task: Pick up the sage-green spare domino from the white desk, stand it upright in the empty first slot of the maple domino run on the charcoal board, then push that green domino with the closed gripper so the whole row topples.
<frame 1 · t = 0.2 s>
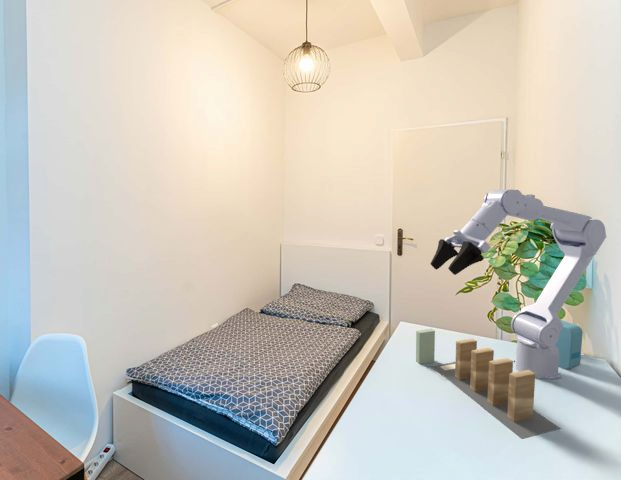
hand: (442, 269, 77), 31 cm above the table, tool tilted 45°, fingers open, 7 cm apart
light blue rounded block: (551, 360, 94), on the table
green domino: (425, 363, 94), on the table
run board: (485, 395, 78), on the table
domino 3: (481, 388, 80), point 1 cm above the table, touching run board
domino 5: (519, 417, 69), point 1 cm above the table, touching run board
domino 4: (499, 402, 74), point 1 cm above the table, touching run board
domino 2: (465, 377, 85), point 1 cm above the table, touching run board
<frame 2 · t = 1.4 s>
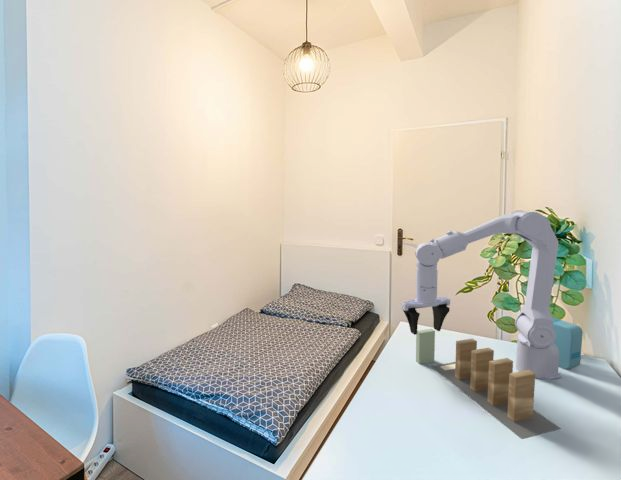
hand: (425, 331, 93), 10 cm above the table, tool pointing down, fingers open, 7 cm apart
nothing on the table moved.
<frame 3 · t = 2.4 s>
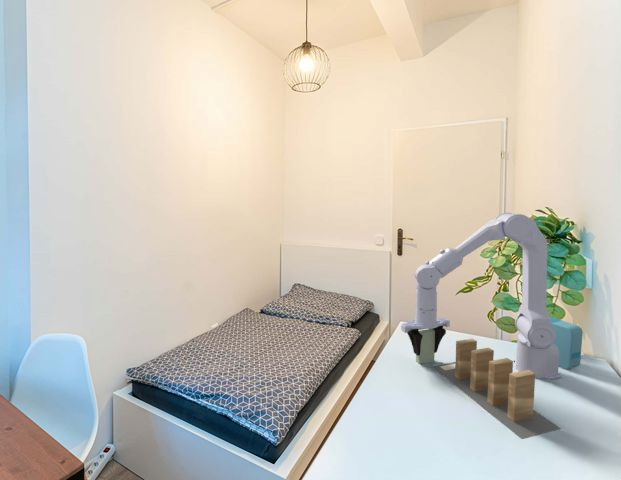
hand: (425, 352, 93), 3 cm above the table, tool pointing down, fingers closed on green domino, 5 cm apart
green domino: (425, 363, 94), on the table, touching gripper
everything else where it was.
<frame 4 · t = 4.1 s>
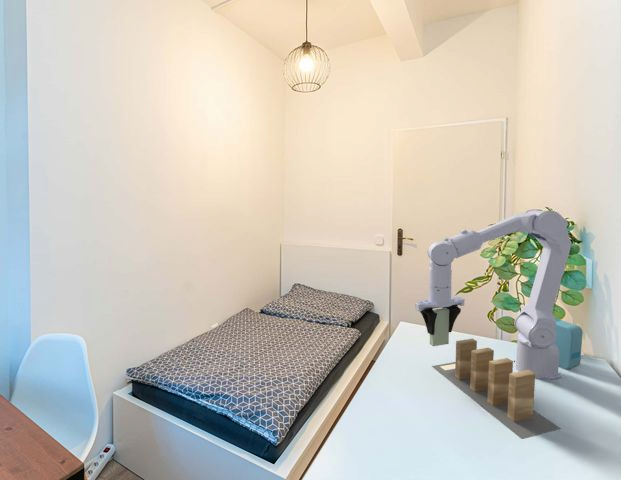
hand: (439, 332, 91), 10 cm above the table, tool pointing down, fingers closed on green domino, 5 cm apart
green domino: (439, 343, 91), point 7 cm above the table, touching gripper
everything else where it was.
when the fingers open (5 cm above the table, at t = 6.1 s): green domino stays where it is, resting on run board.
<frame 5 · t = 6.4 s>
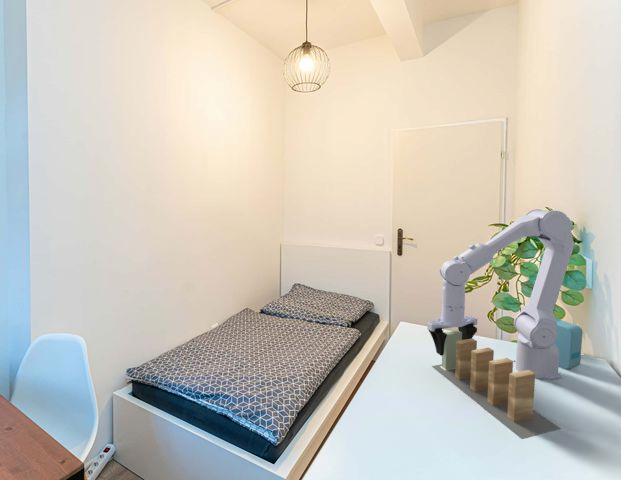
hand: (451, 351, 90), 5 cm above the table, tool pointing down, fingers open, 7 cm apart
green domino: (451, 366, 90), point 1 cm above the table, touching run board
everything else where it was.
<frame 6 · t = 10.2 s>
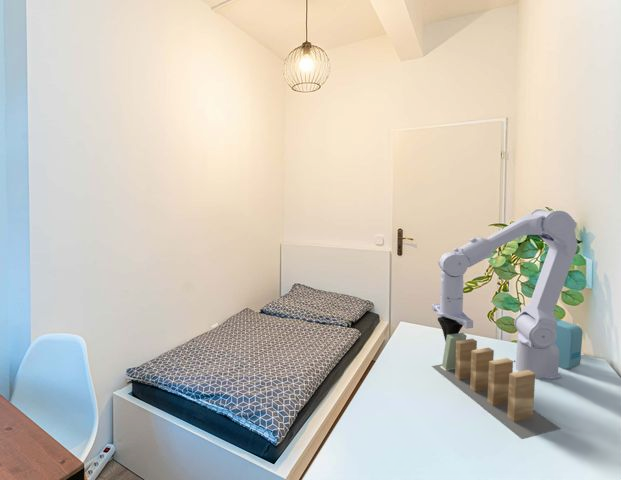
hand: (450, 343, 90), 7 cm above the table, tool pointing down, fingers closed
green domino: (451, 366, 90), point 1 cm above the table, tilted 10°, touching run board
everything else where it was.
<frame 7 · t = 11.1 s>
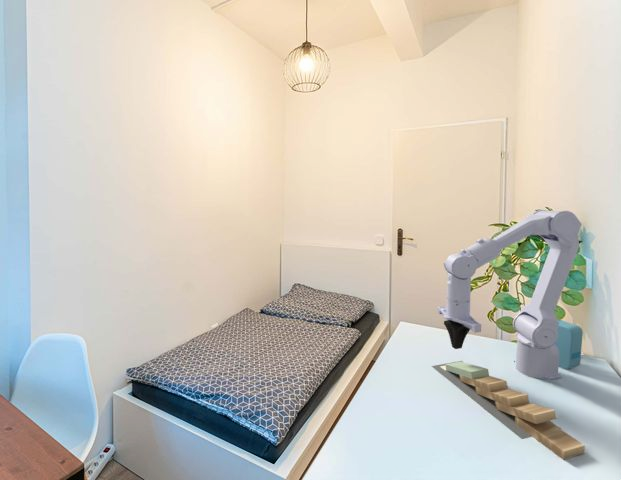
hand: (456, 347, 87), 7 cm above the table, tool pointing down, fingers closed
green domino: (453, 365, 89), point 2 cm above the table, tilted 73°, touching domino 2, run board
domino 3: (484, 388, 79), point 2 cm above the table, tilted 73°, touching domino 2, domino 4, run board
domino 5: (524, 417, 68), point 2 cm above the table, tilted 90°, touching domino 4, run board
domino 4: (504, 403, 73), point 2 cm above the table, tilted 71°, touching domino 3, domino 5
domino 2: (468, 376, 84), point 2 cm above the table, tilted 73°, touching domino 3, green domino, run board
everything else where it was.
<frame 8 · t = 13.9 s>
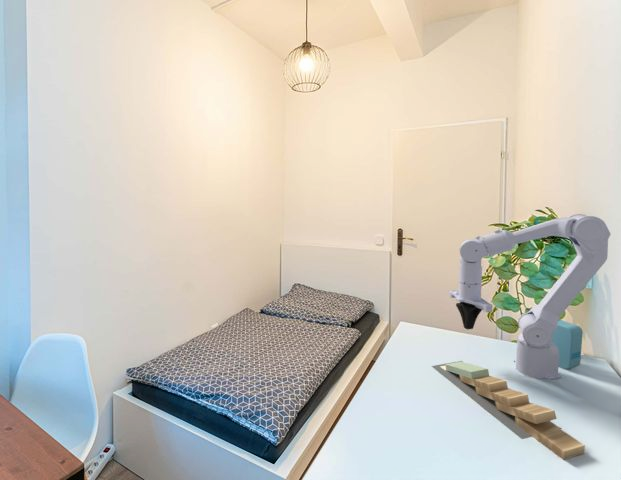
hand: (468, 328, 93), 10 cm above the table, tool pointing down, fingers closed
domino 4: (504, 403, 73), point 2 cm above the table, tilted 71°, touching domino 3, domino 5, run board
everything else where it was.
at the end: green domino inside the target area (0.1 cm from its centre), point 1.6 cm above the table; green domino tilted 73°; domino 5 tilted 90° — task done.
